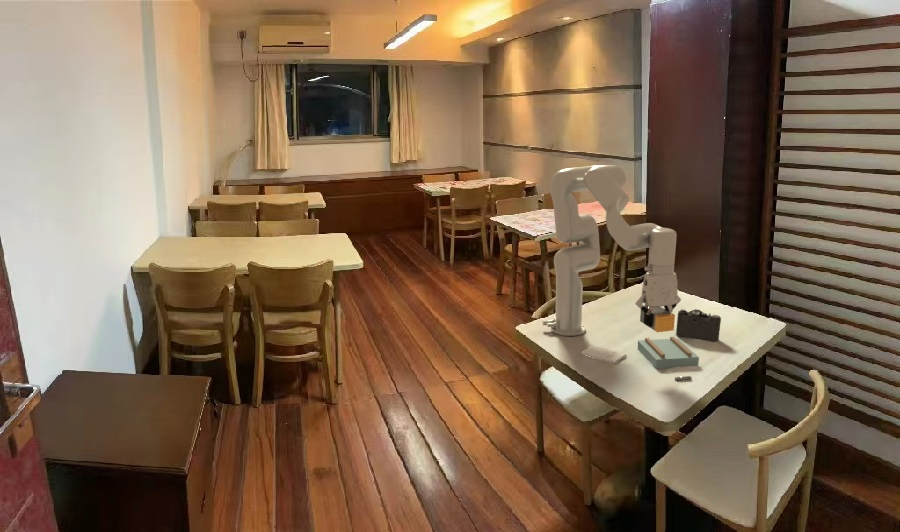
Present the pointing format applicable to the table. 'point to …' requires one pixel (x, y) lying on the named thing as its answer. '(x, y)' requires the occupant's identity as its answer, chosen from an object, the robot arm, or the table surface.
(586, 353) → the external hard drive
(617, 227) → the robot arm
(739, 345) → the table surface
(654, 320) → the block
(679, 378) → the grey metal rounded bar
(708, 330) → the camera
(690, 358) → the stand
